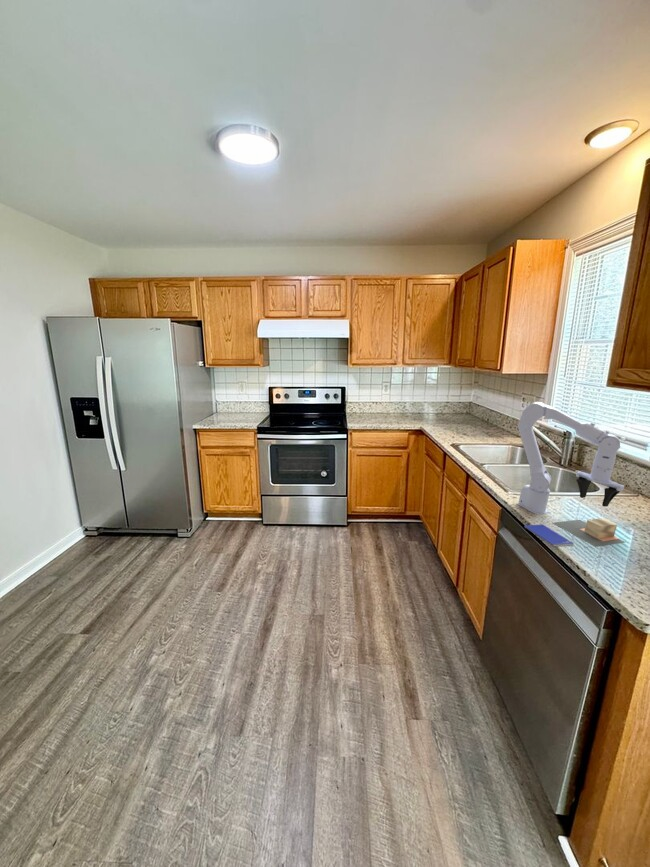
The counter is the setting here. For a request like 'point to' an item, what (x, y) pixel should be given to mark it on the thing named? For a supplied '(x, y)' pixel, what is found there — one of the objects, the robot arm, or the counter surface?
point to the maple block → (600, 528)
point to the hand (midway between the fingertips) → (593, 501)
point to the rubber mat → (575, 528)
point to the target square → (604, 537)
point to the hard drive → (548, 535)
